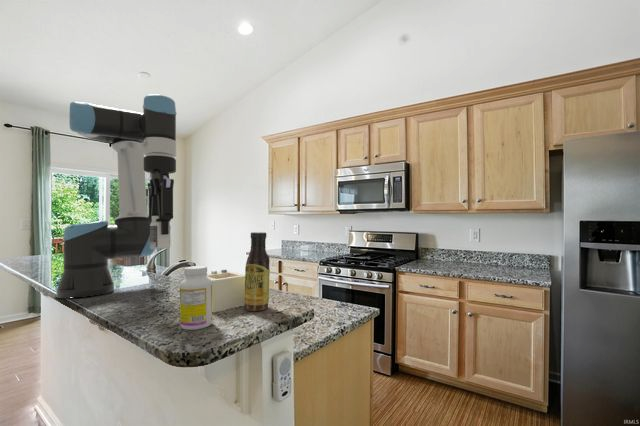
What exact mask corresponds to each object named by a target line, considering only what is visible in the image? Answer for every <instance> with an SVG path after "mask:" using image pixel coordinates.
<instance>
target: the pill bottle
mask: <svg viewBox="0 0 640 426" xmlns="http://www.w3.org/2000/svg"><path fill="white" fill-rule="evenodd" d="M156 219H159V216H152V222H153V223H151V224H150V249H155V250H166V249H168V248H157V222H156Z"/></svg>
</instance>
